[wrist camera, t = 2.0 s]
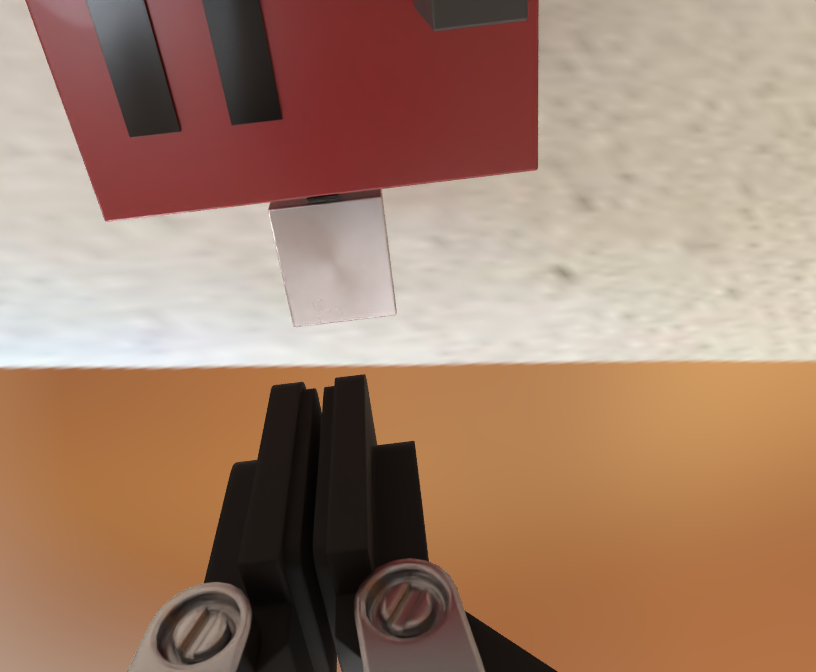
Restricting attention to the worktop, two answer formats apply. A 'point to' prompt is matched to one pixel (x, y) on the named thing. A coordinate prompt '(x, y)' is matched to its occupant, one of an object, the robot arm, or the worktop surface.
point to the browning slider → (470, 12)
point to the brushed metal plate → (334, 257)
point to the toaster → (284, 98)
